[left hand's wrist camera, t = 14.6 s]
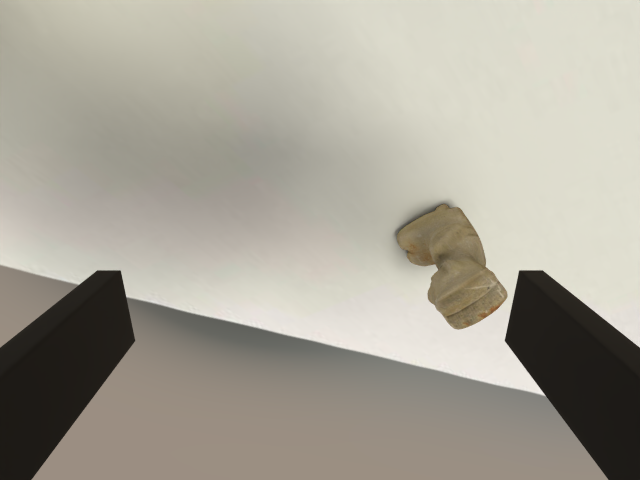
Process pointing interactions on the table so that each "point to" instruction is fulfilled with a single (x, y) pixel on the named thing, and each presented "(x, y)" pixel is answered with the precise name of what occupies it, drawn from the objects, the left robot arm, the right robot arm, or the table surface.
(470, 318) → the sculpture
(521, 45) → the table surface
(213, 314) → the table surface
